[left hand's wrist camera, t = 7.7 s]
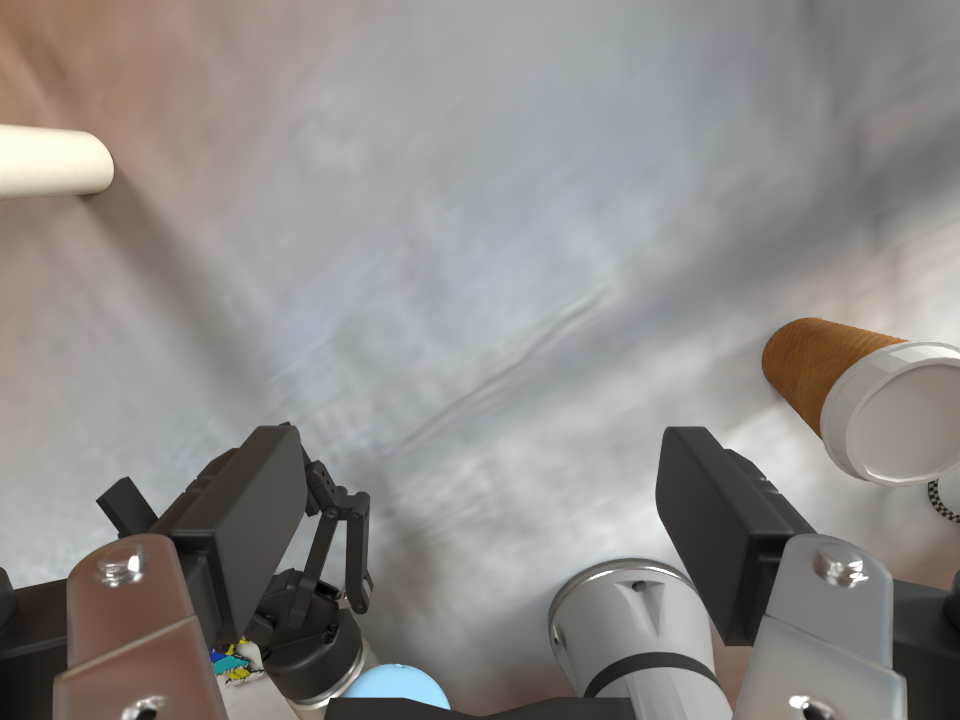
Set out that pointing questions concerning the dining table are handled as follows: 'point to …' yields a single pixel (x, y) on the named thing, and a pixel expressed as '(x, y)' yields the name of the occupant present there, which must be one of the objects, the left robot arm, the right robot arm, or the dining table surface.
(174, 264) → the dining table surface
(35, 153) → the white bottle
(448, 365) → the dining table surface
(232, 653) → the toy
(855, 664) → the left robot arm
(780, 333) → the disposable coffee cup
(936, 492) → the checkered curved strip
